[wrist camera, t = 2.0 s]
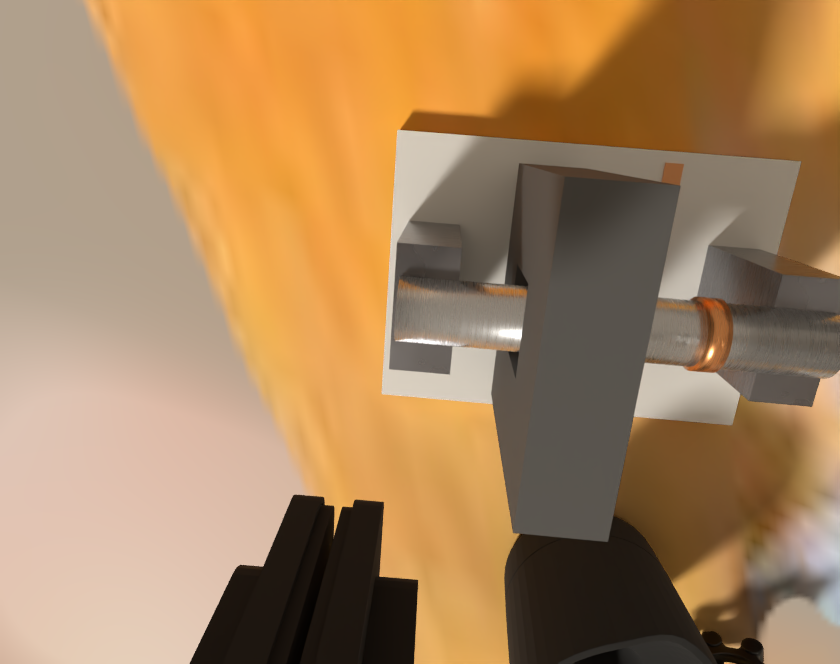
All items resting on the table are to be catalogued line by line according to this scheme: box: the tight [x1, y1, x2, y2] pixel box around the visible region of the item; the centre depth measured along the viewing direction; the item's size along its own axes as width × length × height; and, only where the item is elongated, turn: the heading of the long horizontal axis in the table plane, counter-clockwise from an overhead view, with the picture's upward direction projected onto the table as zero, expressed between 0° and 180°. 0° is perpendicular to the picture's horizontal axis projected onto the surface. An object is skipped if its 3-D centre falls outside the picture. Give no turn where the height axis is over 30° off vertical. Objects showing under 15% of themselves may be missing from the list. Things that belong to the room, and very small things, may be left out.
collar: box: [491, 163, 681, 542], centre depth 22 cm, size 3×11×11 cm, turn 176°
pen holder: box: [505, 516, 717, 664], centre depth 30 cm, size 9×9×10 cm
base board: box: [382, 130, 801, 425], centre depth 29 cm, size 18×13×1 cm
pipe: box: [389, 221, 840, 407], centre depth 25 cm, size 16×5×8 cm, turn 86°
